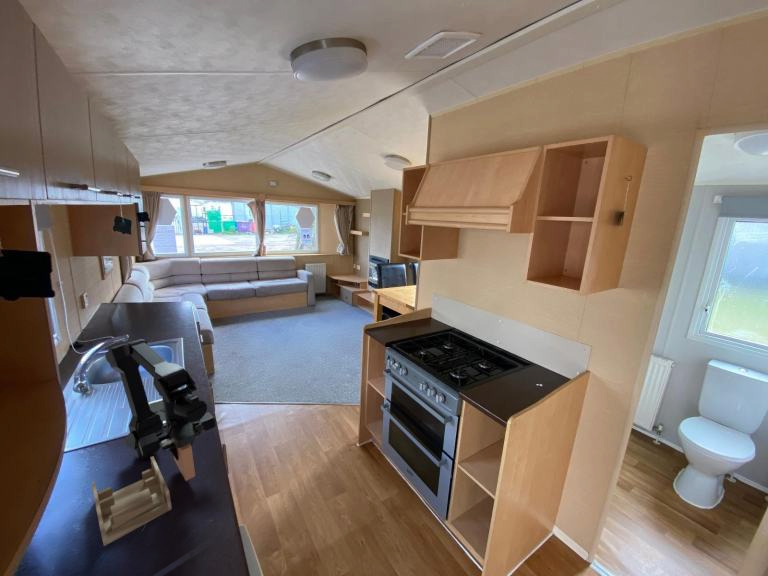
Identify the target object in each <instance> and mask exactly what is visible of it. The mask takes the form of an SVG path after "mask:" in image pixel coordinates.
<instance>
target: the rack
mask: <svg viewBox="0 0 768 576" xmlns="http://www.w3.org/2000/svg"><path fill="white" fill-rule="evenodd" d="M150 458H151V459H150V463H151V467H150V468H149V469H146V470H144V471H141V475H142V479H140V480H138V481H136V482H134V483H132V484H129V485H127V486H125V487H123V488H120V489H119V490H116V491H114V492H113V491H112V487H111V486H109V487H106V488H105V489H101V490H100V491H98V489H97V488H98V487H97V484H96V481H93V482H91V487H92V492H93V497H94V498H93V499H94V503H95V509H96V513H97V514H96V515H97V520H98V525H99V530H100V535H101V539H102V543H103V544H102V545H103V547H106V546H108V545H109V544H111V543H112V542H115V541H116V540H118V539H121V538H122V537H124V536H126V535H127V534H129V533H131V532H133V531H135V530H137V529H138V528H140V527H142V526H144V525H145V524H147V523H149V522H151V521H153V520H155V519H156V518H158V517H160V516H162V515H164V514H167V513H168V512H170V511H171V510H172V509H173V508H172V501H171V495H170V494H171V493H170V489H169V488H168V484H167V483H166V481H165V479H164V476H163V475H162V472H161V470H160V467H159V466H158V463H157V461H156V459H155V457H150ZM148 488H149V491H150V493H151V495H153V494H155V493H157V495H158V498H159V500H160V506H159V507H157V508H155V509H153V510H151V511H149V512H147V513H145V514H143V515H142V516H140V517H138V518H136V519H134V520H132V521H130V522H128V523H126V524H125V525H123V526H121V527H119V528H117V529H115V530H113V531H112V526H111V522H110V517H109V516H111V515H112V513H111V508H110V507H111V506H113V505H115V504H117V503H119V502H121V501H123V500H125V499H127V498H129V497H131V496H134V495H136V494H138V493H140V492H142V491H144V490H146V489H148Z"/></svg>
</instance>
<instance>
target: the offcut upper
mask: <svg viewBox="0 0 768 576" xmlns="http://www.w3.org/2000/svg"><path fill="white" fill-rule="evenodd" d="M152 505H153V501H152V496H151V493H150V491H149V488H148V489H146V490H144V491H142V492H140V493H138V494H136V495H134V496H131V497H129V498H127V499H125V500H123V501H121V502H119V503H117V504H115V505H113V506H111V507H110V508H111V513H112V517H113V522H114V525H115V524H117V523H119V522H121V521H123V520H125V519H127V518H129V517H131V516H133V515H135V514H137V513H138V512H140V511H142V510H144V509H146V508H148V507H150V506H152Z"/></svg>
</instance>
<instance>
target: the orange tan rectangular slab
mask: <svg viewBox="0 0 768 576" xmlns="http://www.w3.org/2000/svg"><path fill="white" fill-rule="evenodd" d="M173 442H174V439H173ZM174 444H175V442H174ZM192 447H193V446H192ZM192 447H191V445H190V444H187V445H185V446H183V447H182V448H177V447H176V444H175V448H176V451H177V454H178V459H179V460H176V458H175V457H174V456H173V459H174V462H175V464H176V465H177V467H178V469H179V472H180V473H181V475H182V477H183V478H184V481H185V482H187V481H188V480H191V479H192V478H195V477H196V471H195V463H194V457H193V456H194V455H193V454H194V453H193V448H192Z"/></svg>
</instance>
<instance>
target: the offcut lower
mask: <svg viewBox="0 0 768 576" xmlns="http://www.w3.org/2000/svg"><path fill="white" fill-rule="evenodd" d="M151 496H152V501H153V505H152V506H150V507H148V508H146V509H144V510H142V511H140V512H138V513H137V514H135V515H133V516H131V517H129V518H127V519H125V520H123V521H121V522H119V523H117V524H115V525H114V522H113V517H112V515H111V516H109V517H110V522H111V526H112V531H113V530H115V529H117V528H119V527H121V526H123V525H125V524H126V523H128V522H130V521H132V520H134V519H136V518H138V517H140V516H142V515H143V514H145V513H147V512H149V511H151V510H153V509H155V508H157V507H159V506H160V500H159V498H158V495H157V493H155V494H153V495H151Z"/></svg>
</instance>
